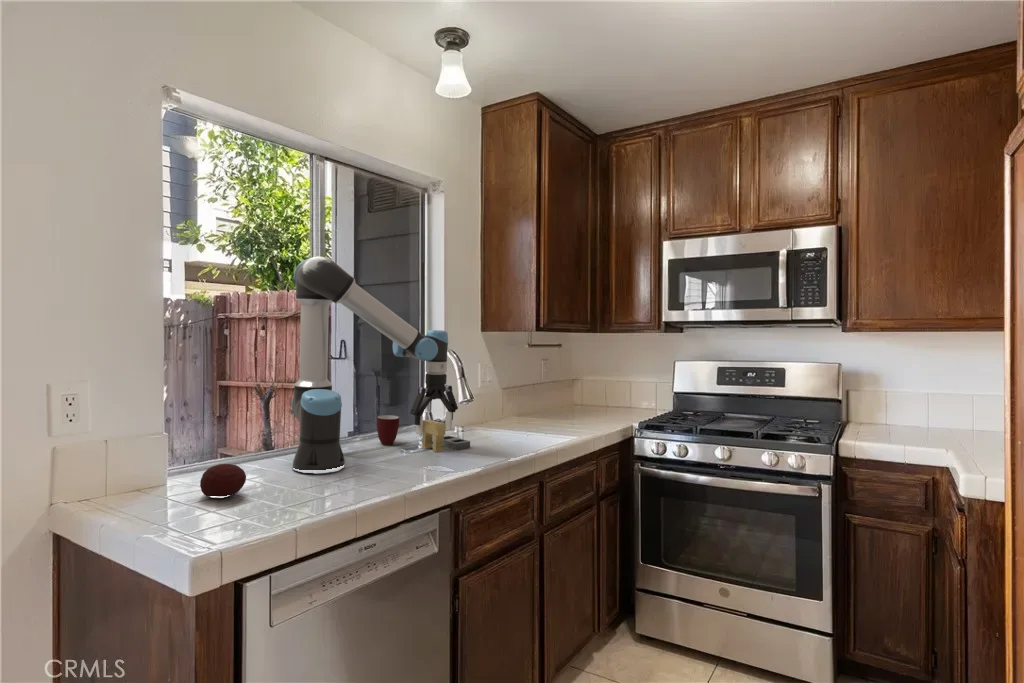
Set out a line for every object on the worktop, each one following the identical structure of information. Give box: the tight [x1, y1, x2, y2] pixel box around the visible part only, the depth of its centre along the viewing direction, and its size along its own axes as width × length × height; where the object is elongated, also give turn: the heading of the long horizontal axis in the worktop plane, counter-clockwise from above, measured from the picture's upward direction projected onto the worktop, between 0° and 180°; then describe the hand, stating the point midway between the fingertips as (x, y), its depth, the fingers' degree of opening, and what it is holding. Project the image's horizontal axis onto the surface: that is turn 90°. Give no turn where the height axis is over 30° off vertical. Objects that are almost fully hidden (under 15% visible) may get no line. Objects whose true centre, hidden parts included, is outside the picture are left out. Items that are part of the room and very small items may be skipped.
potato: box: [199, 463, 247, 497], centre depth 147 cm, size 12×11×8 cm
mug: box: [376, 414, 400, 446], centre depth 214 cm, size 10×8×10 cm
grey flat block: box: [443, 435, 471, 451], centre depth 216 cm, size 7×12×2 cm, turn 48°
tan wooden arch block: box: [421, 419, 447, 453], centre depth 209 cm, size 4×9×10 cm, turn 48°
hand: (434, 431), depth 209 cm, fingers open, 13 cm apart
